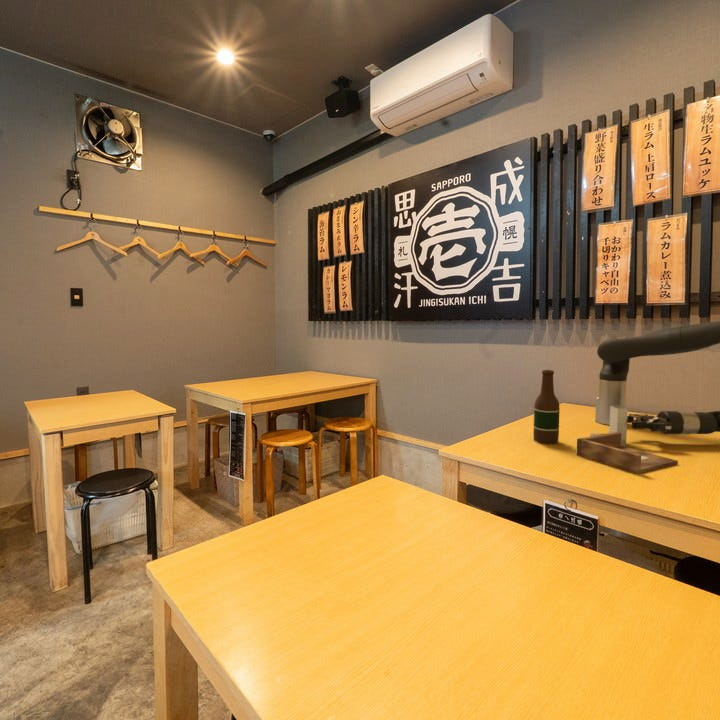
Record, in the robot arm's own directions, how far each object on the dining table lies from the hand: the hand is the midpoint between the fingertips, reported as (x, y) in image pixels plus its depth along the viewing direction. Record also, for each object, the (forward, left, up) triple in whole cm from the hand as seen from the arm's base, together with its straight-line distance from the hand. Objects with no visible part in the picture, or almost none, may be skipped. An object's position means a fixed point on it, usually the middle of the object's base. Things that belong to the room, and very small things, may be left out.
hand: (625, 422), depth 140 cm
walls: (+11, -16, -7) cm, 21 cm away
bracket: (-3, -4, -7) cm, 9 cm away
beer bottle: (-13, -21, -7) cm, 26 cm away
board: (+11, -16, -7) cm, 21 cm away
